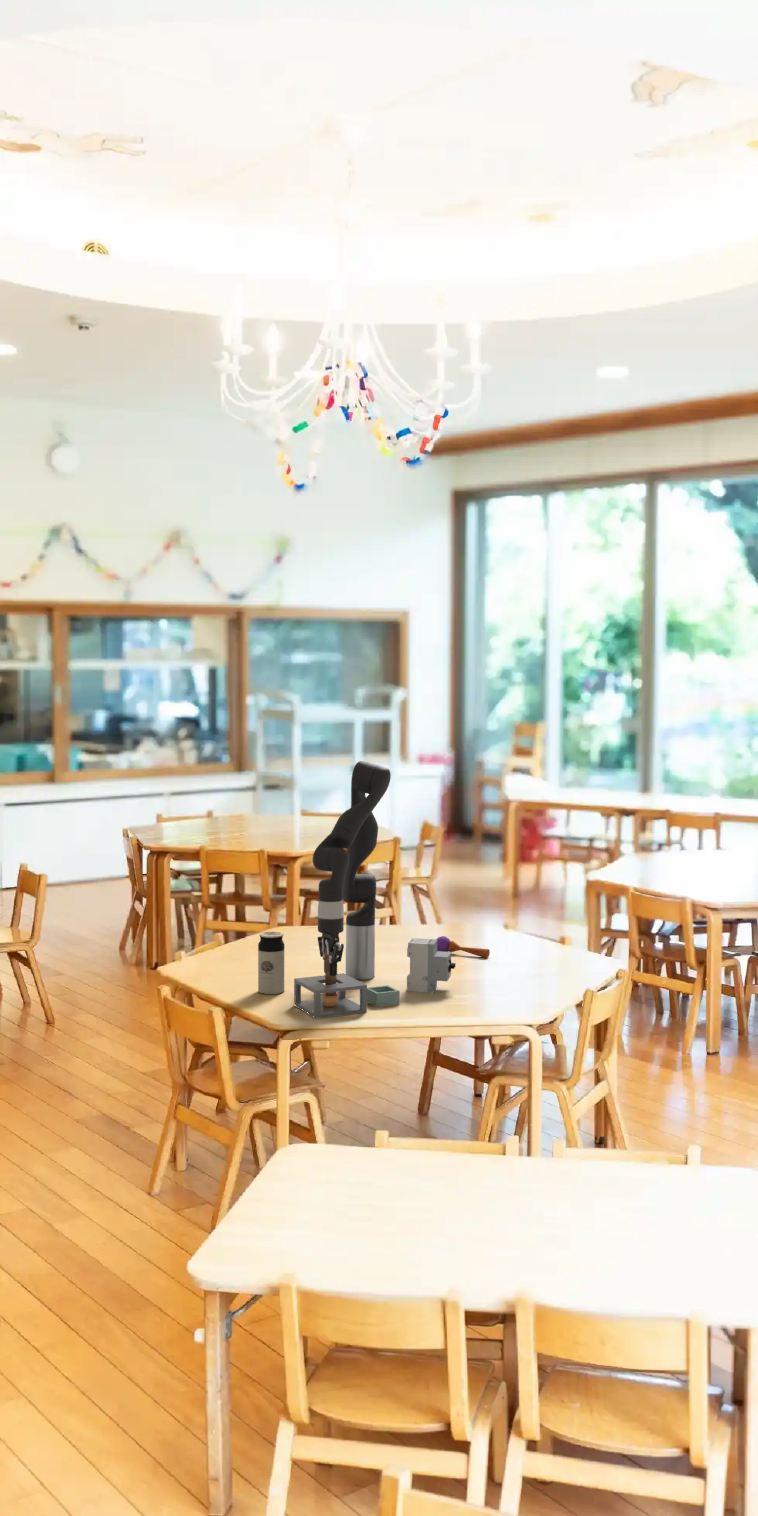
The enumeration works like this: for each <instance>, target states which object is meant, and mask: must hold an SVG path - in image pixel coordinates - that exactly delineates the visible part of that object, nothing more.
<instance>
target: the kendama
mask: <svg viewBox="0 0 758 1516" xmlns="http://www.w3.org/2000/svg"><path fill="white" fill-rule="evenodd" d="M436 939H437V951H442V952H451V953H454V952H459V951H462V952H465V953H468V954H471V955H474V956H477V957H480V958H483V959H489V957H490V949H488V948H481V947H480V948H479V947H467V946H466V947H464V946H461V945H459V944H457V943H456V942H455V941H453V940H451V939H450V938H449V937H447V936H444V935H441V936H438V937H437V938H436Z"/></svg>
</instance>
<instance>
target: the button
mask: <svg viewBox="0 0 758 1516" xmlns="http://www.w3.org/2000/svg"><path fill="white" fill-rule="evenodd" d="M338 997H339V993H336V995H335V996H326V995H325V993H322V999H323V1006H327V1007H333V1006H337V1005H338Z"/></svg>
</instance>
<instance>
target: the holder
mask: <svg viewBox="0 0 758 1516" xmlns="http://www.w3.org/2000/svg"><path fill="white" fill-rule="evenodd" d="M400 994H401V993H400V990H399V989H397V988H395V987H393V986H390V985H388V984H387V985H379V986H378V985H377V986H369V987H368V986H367V1004H370V1005H372V1006H373V1007H375V1008H379V1007H386V1006H389V1007H390V1006H395V1005H400V1002H401V1001H400V1000H401V999H400V998H401V997H400V996H401V995H400Z"/></svg>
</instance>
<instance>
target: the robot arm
mask: <svg viewBox="0 0 758 1516" xmlns="http://www.w3.org/2000/svg"><path fill="white" fill-rule="evenodd" d="M391 774H392V773H391V770H390V769H389V768H387V767H385V766H384V765H383V766H382V765H379V764H375V763H372V762H369V761H365V760H359V761H358V762H357V763H355V765H354V767H353V769H352V773H351V780H350V781H351V782H350V783H351V785H350V808H348V809H347V810H345V811H344V812H343V813H341V815H340V816H339V817H338V819H337V821H336V823H335V824H334V827H333V829H332V830H331V832H330V833H329V834H328V835H327V836H326V837H325V838H324V840H322V841H321V842H320V843H319V844H318V846H317V847H316V848H315V850H314V852H313V855H312V864H313V866H314V868H315V869H316V870H318V871H321V872H322V871H324V872H330V873H331V875H330V878H325V879H324V878H323V879H322V880H320V881H319V883H318V903H317V931H318V933H321V936H317V942H318V943H317V944H318V949H319V956H320V958H322V960H323V973H324V974H325V947H327V955H329V975H330V976H336V975H337V974H338V963H340V962H342V958H343V952H344V948H345V974H346V975H348V976H350V977H352V978H354V979H356V980H358V981H360V980H361V981H363V980H366V981H367V980H371V979H373V978H375V977H376V976H375V969H376V967H375V965H376V963H375V961H376V960H375V959H376V958H375V957H376V951H375V950H376V948H375V946H376V924H375V923H376V902H377V901H376V900H377V899H376V897H377V881H376V878H375V877H376V876H375V875H374V874H372V873H357V872H358V870H359V868H360V866H362V864H363V863H364V862H365V861H366V860H367V859H368V857H370V855H371V854H372V853H373V852H374V850H375V848H376V846H377V843H378V834H379V826H378V821H377V819H376V818H375V817H376V816H374V813H373V810H374V809H375V808H376V806H378V803H380V801H381V800H382V798H383V797H384V795H385V794H386V792H387V791H388V789H389V786H390V782H391V776H392V775H391ZM366 794H367V796H366ZM344 902H345V903H348V904H363V906H361V907H360V908H358V909H357V910H354V911H352V912H350V913H348V914H347V915H346V916H345V915H344V914H345V913H344V908H345V907H344ZM344 917H345V918H344ZM344 919H345V920H344ZM344 921H345V922H344ZM344 923H345V944H344V943H340V936H339V934H340V933H343V932H344ZM344 945H345V946H344ZM330 951H333V952H330ZM332 955H333V956H332Z"/></svg>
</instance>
